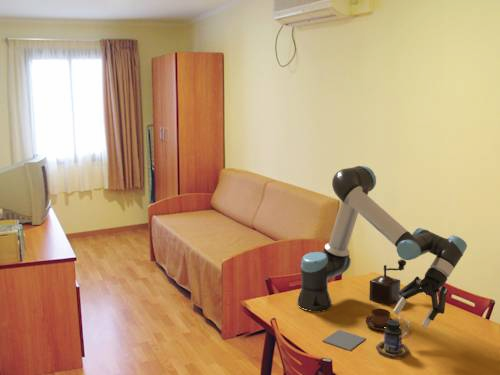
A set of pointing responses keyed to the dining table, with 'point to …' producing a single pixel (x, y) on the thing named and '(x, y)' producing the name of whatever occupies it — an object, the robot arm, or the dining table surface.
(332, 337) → the mat
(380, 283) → the manual coffee grinder
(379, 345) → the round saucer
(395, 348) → the pill bottle
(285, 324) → the dining table surface
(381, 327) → the cup and saucer
